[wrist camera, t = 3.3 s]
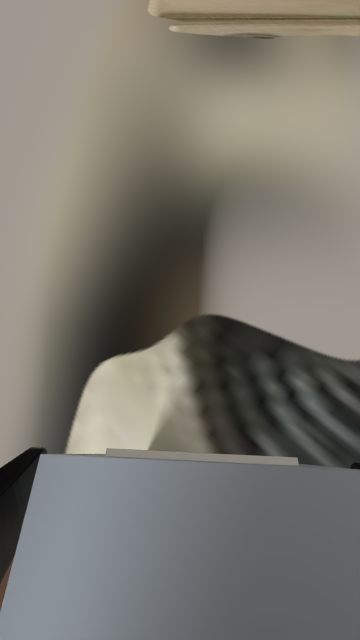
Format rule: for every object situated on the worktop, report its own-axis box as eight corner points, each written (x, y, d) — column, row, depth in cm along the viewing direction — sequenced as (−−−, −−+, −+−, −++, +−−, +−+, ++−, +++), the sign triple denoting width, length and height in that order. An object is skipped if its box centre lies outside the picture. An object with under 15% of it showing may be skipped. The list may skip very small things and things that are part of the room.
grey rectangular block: (241, 515, 13) (447, 753, 3) (140, 509, 13) (-25, 708, 3) (238, 455, 14) (373, 460, 4) (145, 451, 14) (43, 444, 4)
